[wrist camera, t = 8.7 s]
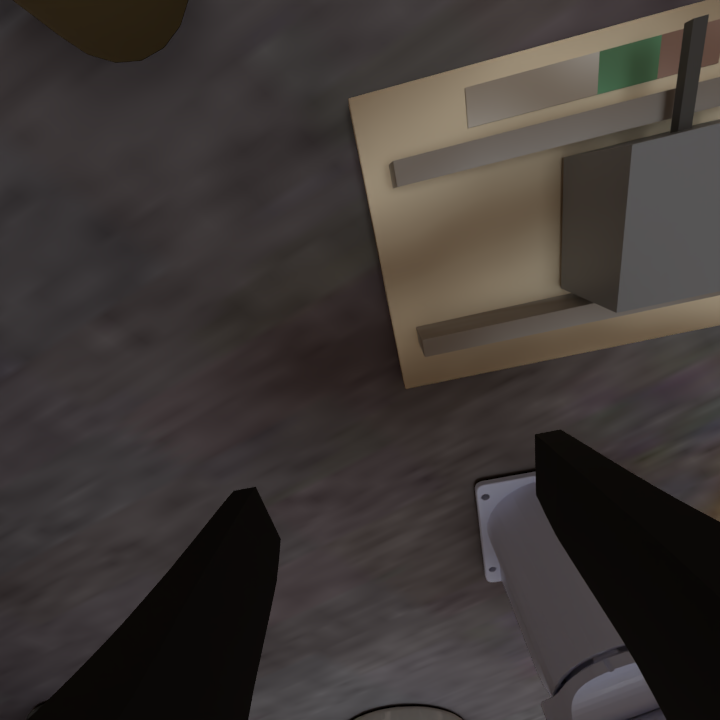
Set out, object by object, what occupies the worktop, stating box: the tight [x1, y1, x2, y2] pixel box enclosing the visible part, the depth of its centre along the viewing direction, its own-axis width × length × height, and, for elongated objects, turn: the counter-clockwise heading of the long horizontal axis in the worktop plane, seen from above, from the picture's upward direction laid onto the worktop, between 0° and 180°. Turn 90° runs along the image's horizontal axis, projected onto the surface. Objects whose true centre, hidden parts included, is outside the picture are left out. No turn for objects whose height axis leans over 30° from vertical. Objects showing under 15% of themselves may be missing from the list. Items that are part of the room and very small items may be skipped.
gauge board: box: [348, 0, 720, 389], centre depth 14 cm, size 12×19×3 cm, turn 103°
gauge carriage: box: [561, 14, 720, 313], centre depth 12 cm, size 8×5×4 cm, turn 13°
